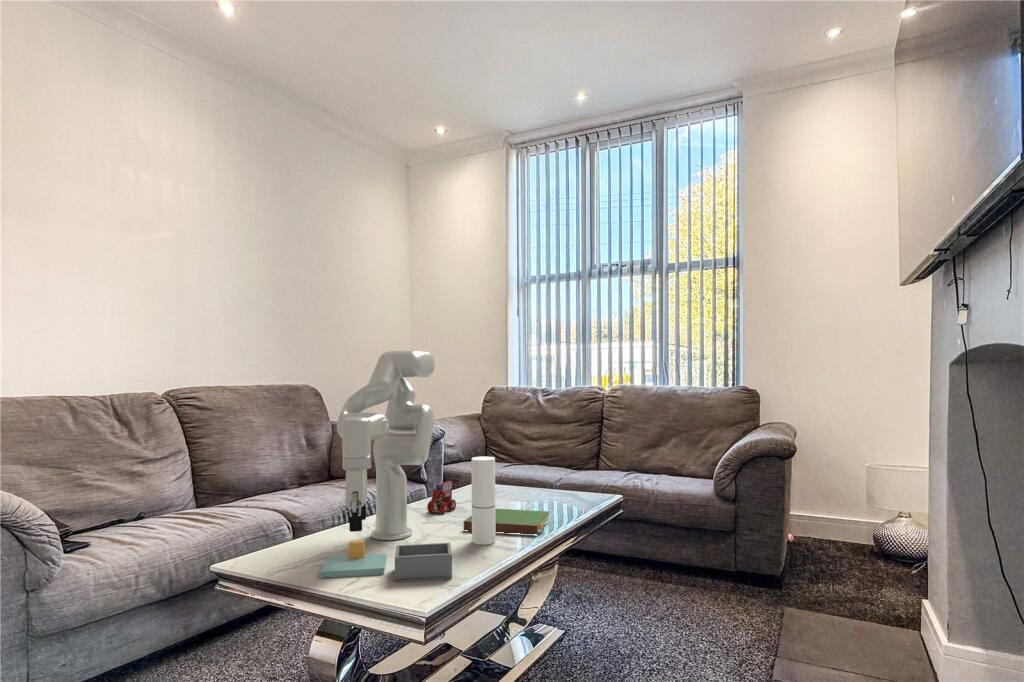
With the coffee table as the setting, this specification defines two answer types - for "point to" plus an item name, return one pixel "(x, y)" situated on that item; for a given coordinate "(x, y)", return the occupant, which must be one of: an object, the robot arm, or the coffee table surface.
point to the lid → (354, 563)
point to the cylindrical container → (483, 500)
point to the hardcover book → (515, 521)
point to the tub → (423, 562)
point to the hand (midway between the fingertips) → (357, 525)
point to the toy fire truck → (442, 498)
